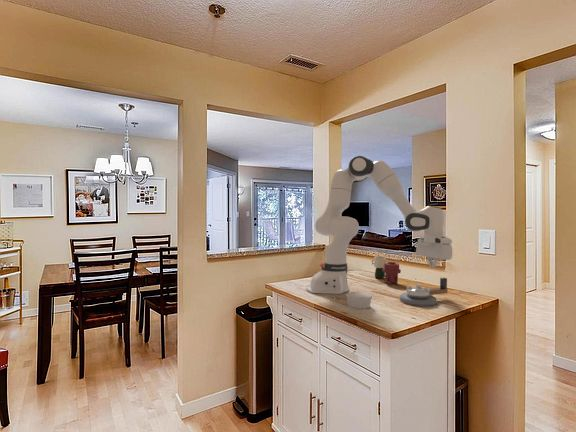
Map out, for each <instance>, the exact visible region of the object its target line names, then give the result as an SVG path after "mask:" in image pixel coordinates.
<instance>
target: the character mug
mask: <svg viewBox="0 0 576 432" xmlns="http://www.w3.org/2000/svg"><path fill="white" fill-rule="evenodd" d="M388 262H390V261H389V260H387V257H386V256H380V255H379V256H378V255H377V256H374V257H373V258H372V259H371V265H373V267H374V268H375V271H374V277H375V278H378V279H383V278H385V273H384V272H383V268H384V263H388Z"/></svg>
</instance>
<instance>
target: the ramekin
mask: <svg viewBox="0 0 576 432" xmlns="http://www.w3.org/2000/svg"><path fill="white" fill-rule="evenodd" d="M345 296H346V298H347V299H346V301H347V306H348V307H349V308H351V309H354V308H356V309H355V310H366V308H367V309H369V308H370V307H371V303H372V299H373V295H372V294H371V293H369V292H364V291H348V292H346V295H345Z"/></svg>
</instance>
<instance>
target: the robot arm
mask: <svg viewBox="0 0 576 432" xmlns="http://www.w3.org/2000/svg"><path fill="white" fill-rule="evenodd" d="M367 178H369V179H371V180H372V181H373V183H374V184H375V186H376V187H377V189H378V190H379V191H380V192H381V193H382V194H383V195H384V196H385V197H386V198H387V199H390V200H391V201H392V202H393V204H395V205H396V207H397V208H398V210H399V211H400V212H401V214H402V215H403V218H404V224H405V227H406V229H408V230H409V231H412V232H420V231H423V237H419V238H418V239H417V243H416V248H415V254H416V255H417V256H421V257H427V258H426V260H427V261H428V266H429V267H432V268H437V263H438V262H439V260H444V261H451V260H452V258H453V247H452V244H453V239H451V238H449V237H447V236H445V235H444V226H445V214H444V210H443V209H442V208H441V207H440V206H435V205H427V206H425V207H424V208H422V209H419V210H416V209H415V208H414V207H413V205H412V204H411V203H410V201H409V199H407V197H406V194H405V193H404V190H403V186H402V184H401V181H400V179H399V177H398V176H397V175H396V173H395V172H394V170H393V169H392V168H391V166H389V164H387V162H385V161H384V160H382V159H379V160H375V161H373V160H372V159H369V158H367V157H365V156H362V155H356V156H353V157H352V158H351V159H350V161H349V162H348V167H347V168H346V169H338V170H336V171H335V172H334V173H333V176H332V179H331V184H330V187H329V188H330V190H329V198H328V202H327V205H326V208H325V210H324V212H322V214H321V215H320V216H319V217H318V218H317V219H316V221H315V224H314V227H315V231H316V232H317V234H320V235H321V236H326V237H333V239H332V241H331V243H330V244H328V245H327V246H326V248H325V253H324V254H325V256H324V257H325V258H324V259H325V262H320V263H319V265H318V266H320V267H321V270H319V271H317V273H315V274H314V275H313V276H312V277H311V280H310V284H307V286H306V288H305V289H306V291H308V293H311V294H331V295H333V294H334V295H342V294H343V293H348V292H350V288H349V283H348V282H349V281H348V263H347V258H348V257H347V256H348V248H349V245H350V242H351V241H352V239H353V238H354V237H356V236H357V234H358V232H359V229H360V226H359V222H358V220H357V219H355V218H353V217H350V216H347V215H346V216H342V214H343V212H344V211H345V210H347V209H348V208H349V207H350V204H351V196H352V195H351V194H352V188H353V187H352V186H353V184H354V183H359V182H363V181H365V180H366V179H367Z"/></svg>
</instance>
